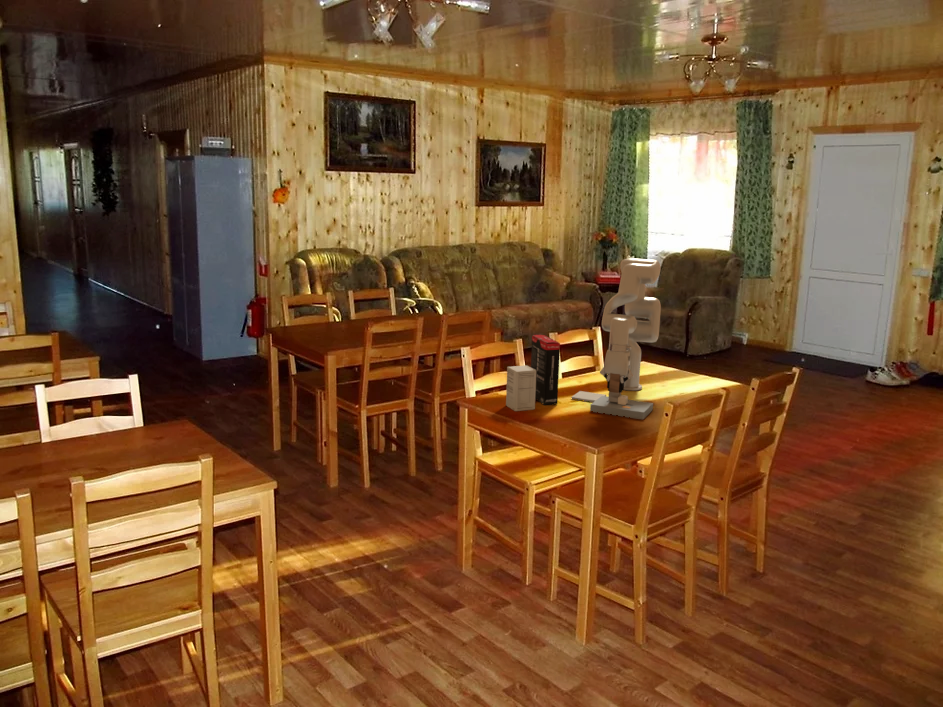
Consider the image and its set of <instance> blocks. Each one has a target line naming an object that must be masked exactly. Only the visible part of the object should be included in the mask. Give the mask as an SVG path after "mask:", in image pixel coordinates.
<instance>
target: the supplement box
mask: <svg viewBox="0 0 943 707" xmlns="http://www.w3.org/2000/svg"><path fill="white" fill-rule="evenodd" d="M535 392H536V370H535V369H533V368H531V366H529V365H527V364H526V365H516V366H515V365H513V366H507V367H506V398H505V399H506V400H505V406H507V407H508V408H509V409H511V410H512V411H514V412H520V411H521V412H522V411H533V410H535V409H536V399H535Z"/></svg>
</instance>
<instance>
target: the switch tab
mask: <svg viewBox="0 0 943 707" xmlns="http://www.w3.org/2000/svg"><path fill="white" fill-rule="evenodd" d="M628 400H629V395H625V394H624V395H623V394H621V395H620V396H619V397H618V404H621V405H626V404H627V403H628Z"/></svg>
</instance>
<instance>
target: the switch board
mask: <svg viewBox="0 0 943 707" xmlns="http://www.w3.org/2000/svg"><path fill="white" fill-rule="evenodd" d="M608 399H609V396H607V395H606V396H601V397H600V398H598V399H597V400H596V401H594V402H591V403H590V407H589V411H590V412H591V411H593V412H592V413H597V412H598V413H599V414H603V413H605V415H610V414H612V415H611V416H616V415H618V416H619V417H623V416H625V417H624V418H629V417H630V418H631V419H635V420H637V419H638V420H642V421H643V420H644V419H645V418H647V416H648V415H649V414H650V413H651V412H652V411H653V410H654V408H653V407H654V402H648V401H642V400H634V399H633V400H632V399H628V403H627V404H626V405H621V404H618V403H617V402H611V401H608Z"/></svg>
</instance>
